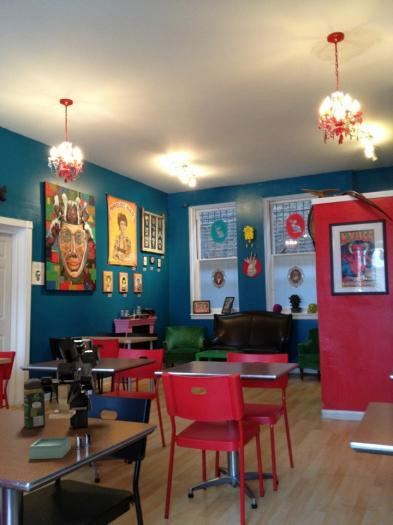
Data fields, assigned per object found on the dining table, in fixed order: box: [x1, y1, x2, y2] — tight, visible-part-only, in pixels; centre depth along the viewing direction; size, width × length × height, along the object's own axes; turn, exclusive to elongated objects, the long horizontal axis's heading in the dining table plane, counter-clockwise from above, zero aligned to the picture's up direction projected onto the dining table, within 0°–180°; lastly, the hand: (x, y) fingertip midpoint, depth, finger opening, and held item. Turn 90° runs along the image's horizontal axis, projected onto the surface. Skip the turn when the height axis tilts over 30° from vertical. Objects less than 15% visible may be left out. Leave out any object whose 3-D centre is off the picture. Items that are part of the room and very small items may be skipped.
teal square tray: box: [29, 436, 72, 460], centre depth 154 cm, size 10×10×4 cm
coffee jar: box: [23, 378, 46, 429], centre depth 196 cm, size 10×8×19 cm
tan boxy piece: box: [48, 384, 76, 420], centre depth 169 cm, size 7×7×10 cm
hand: (62, 403), depth 169 cm, fingers closed on tan boxy piece, 3 cm apart
